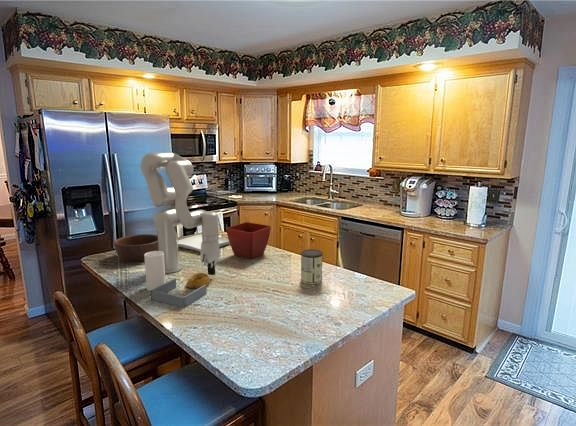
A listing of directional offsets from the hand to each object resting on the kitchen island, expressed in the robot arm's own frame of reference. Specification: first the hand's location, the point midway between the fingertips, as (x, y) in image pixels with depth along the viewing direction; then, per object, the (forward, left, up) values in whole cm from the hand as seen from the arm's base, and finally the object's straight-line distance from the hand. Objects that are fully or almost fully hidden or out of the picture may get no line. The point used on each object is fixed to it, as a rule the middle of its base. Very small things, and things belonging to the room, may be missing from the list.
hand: (211, 274), depth 178 cm
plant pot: (-2, +40, -2) cm, 40 cm away
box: (0, -23, -2) cm, 23 cm away
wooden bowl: (-57, +10, -2) cm, 58 cm away
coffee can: (+45, +18, -2) cm, 49 cm away
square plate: (-38, +44, -3) cm, 58 cm away
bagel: (-1, -10, -2) cm, 10 cm away
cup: (-16, -20, -2) cm, 26 cm away
